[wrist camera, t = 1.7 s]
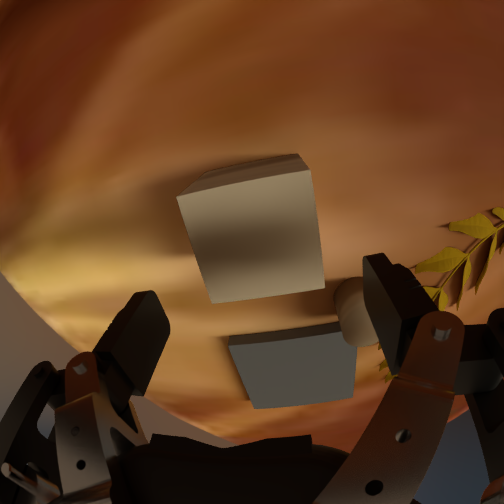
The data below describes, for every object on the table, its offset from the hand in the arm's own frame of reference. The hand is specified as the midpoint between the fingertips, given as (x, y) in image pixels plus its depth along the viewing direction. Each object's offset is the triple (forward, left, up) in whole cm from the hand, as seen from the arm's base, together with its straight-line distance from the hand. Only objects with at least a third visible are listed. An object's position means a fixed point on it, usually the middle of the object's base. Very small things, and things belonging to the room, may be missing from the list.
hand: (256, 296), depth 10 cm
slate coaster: (+16, 0, -9) cm, 18 cm away
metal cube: (-1, 0, -9) cm, 9 cm away
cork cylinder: (+8, +6, -9) cm, 14 cm away
